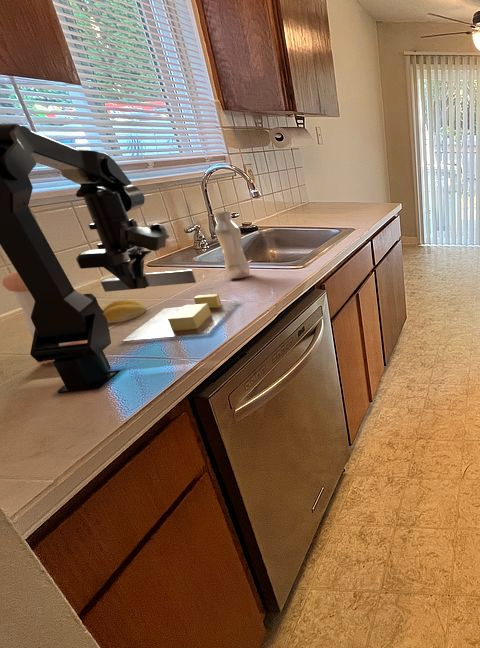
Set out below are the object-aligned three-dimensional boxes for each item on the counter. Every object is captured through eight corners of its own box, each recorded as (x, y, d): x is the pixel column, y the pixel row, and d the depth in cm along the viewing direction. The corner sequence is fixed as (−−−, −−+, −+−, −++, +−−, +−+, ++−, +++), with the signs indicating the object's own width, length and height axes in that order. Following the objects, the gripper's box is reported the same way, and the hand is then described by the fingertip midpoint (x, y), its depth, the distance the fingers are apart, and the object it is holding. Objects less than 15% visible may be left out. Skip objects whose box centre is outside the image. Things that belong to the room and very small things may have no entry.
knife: (198, 280, 93) (194, 268, 92) (194, 284, 91) (189, 271, 90) (111, 288, 90) (105, 275, 89) (104, 291, 88) (99, 279, 87)
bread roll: (104, 328, 93) (97, 313, 91) (104, 316, 99) (97, 301, 97) (148, 318, 98) (142, 303, 96) (146, 307, 104) (140, 293, 102)
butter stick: (196, 328, 90) (192, 316, 89) (172, 331, 89) (167, 319, 88) (211, 314, 97) (207, 303, 96) (188, 316, 96) (184, 305, 95)
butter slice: (218, 307, 101) (215, 296, 100) (197, 309, 100) (193, 298, 99) (221, 304, 103) (218, 293, 102) (200, 306, 102) (196, 295, 101)
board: (209, 336, 88) (208, 333, 88) (122, 344, 85) (121, 341, 85) (237, 305, 104) (236, 302, 104) (165, 311, 101) (164, 308, 101)
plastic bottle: (235, 274, 128) (218, 210, 119) (256, 274, 127) (240, 210, 119) (223, 280, 122) (203, 214, 114) (244, 281, 122) (226, 214, 113)
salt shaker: (42, 356, 81) (-7, 266, 73) (90, 343, 86) (49, 258, 78) (45, 369, 77) (-6, 275, 69) (95, 354, 82) (52, 265, 74)
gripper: (126, 223, 76) (154, 298, 83) (174, 208, 93) (195, 271, 99) (58, 226, 75) (93, 303, 81) (120, 210, 91) (145, 275, 98)
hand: (137, 286), depth 90 cm, fingers closed on knife, 2 cm apart
